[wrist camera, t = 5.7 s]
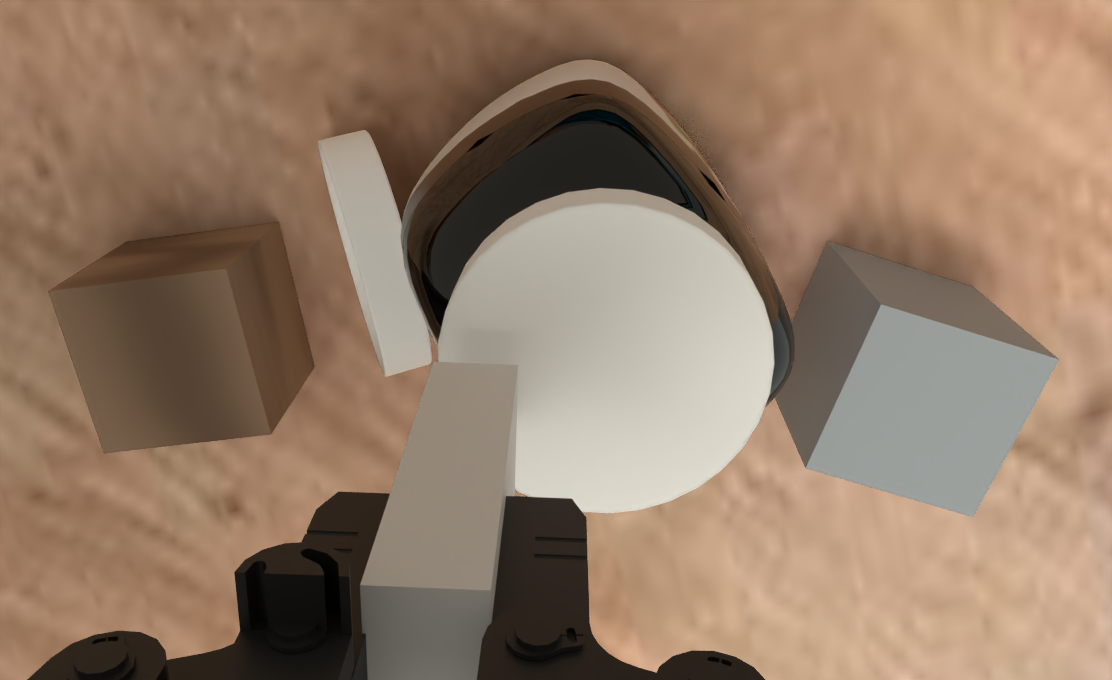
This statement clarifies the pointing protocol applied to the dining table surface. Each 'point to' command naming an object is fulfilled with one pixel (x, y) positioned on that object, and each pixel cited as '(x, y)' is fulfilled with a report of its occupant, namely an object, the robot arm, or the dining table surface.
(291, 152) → the dining table surface
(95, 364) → the walnut block
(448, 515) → the robot arm
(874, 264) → the slate block
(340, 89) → the dining table surface
